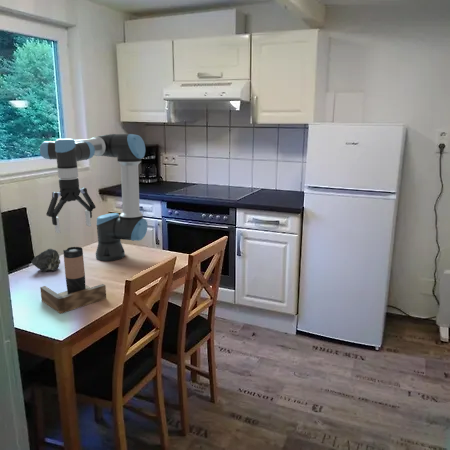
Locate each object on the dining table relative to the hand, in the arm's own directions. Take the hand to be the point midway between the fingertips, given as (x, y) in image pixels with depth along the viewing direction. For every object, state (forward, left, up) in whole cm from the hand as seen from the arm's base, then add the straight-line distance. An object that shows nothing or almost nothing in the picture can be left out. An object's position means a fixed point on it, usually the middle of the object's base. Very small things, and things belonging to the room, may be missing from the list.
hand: (73, 229), depth 181 cm
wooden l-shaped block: (+5, +5, -29) cm, 29 cm away
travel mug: (+3, +3, -28) cm, 28 cm away
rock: (-2, -37, -29) cm, 47 cm away
